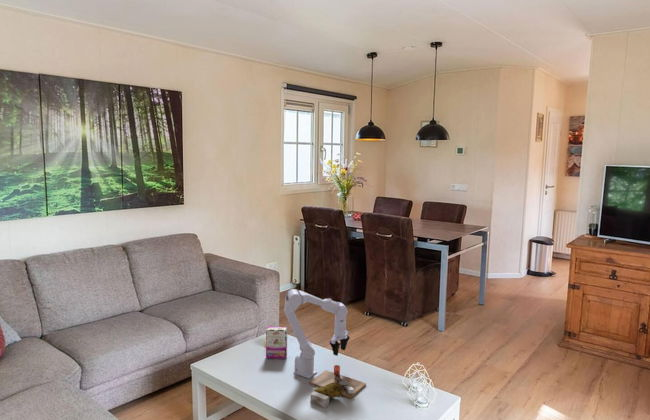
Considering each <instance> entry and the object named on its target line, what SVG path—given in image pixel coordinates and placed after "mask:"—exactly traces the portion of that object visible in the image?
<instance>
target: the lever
mask: <svg viewBox="0 0 650 420" xmlns="http://www.w3.org/2000/svg"><path fill="white" fill-rule="evenodd" d="M333 373H334V375H335V378H336V379H337V381H338V382H339V384H341V385H342V386H343V388H344V389H345V390H346V392H347V394H353V393H354V389H353V388H352V387H350V386H349V381H348V380H346V379H343V378H342V377H341V376H340V375H341V366H340V365H339V364H335V365H333Z"/></svg>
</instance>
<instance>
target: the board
mask: <svg viewBox="0 0 650 420" xmlns="http://www.w3.org/2000/svg"><path fill="white" fill-rule="evenodd" d="M340 376H341V377H342V378H343V379H346V380H348V381H349V386H350V387H352V388H353V389H354V393H353V394H347V392H346V390H345V389H344V388H343V392H342V394H341V396H342V397H345V398H346V399H350V400H351V399H353V397H354V396H356V395H357V394H359V392H361V391H362V390H363V389H364V388H365V387H366V386H367V383H366V382H363V381H361V380H357V379H355V378H351V377H349V376H345V375H342V374H340ZM334 382H337V383H339V382H338V381H337V379H336V378H335V375H334V371H329V370H324V371H323V372H321V373H320V374H318V375H317V376H316V377H314V378H313V379H311V380H310V381H309V383H308V384H309V385H310V386H313V387H315V388H319V387H322V386H326V385H328V384H330V383H334ZM341 396H340V397H341ZM309 399H310V404H314V405H317V406H319V407H322V408H324V409H327V407H329V406H330V398H329V396H326V395H323V394H320V393H318V392H315V390H313V392H311V393H310V398H309Z"/></svg>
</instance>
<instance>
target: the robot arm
mask: <svg viewBox="0 0 650 420" xmlns="http://www.w3.org/2000/svg"><path fill="white" fill-rule="evenodd" d="M284 297H285V298H284V299H285V300H284V301H285V302H284V306H283V312H284V315H285V317H286V319H287V321H288V323H289V325H290V327H291V330H292V331H293V334H294V336H295V338H296V340H297V342H298V345H299V350H300V353H298V354H296V356H295V357H294V368H293V369H294V370H293V374H295V375H298V376H301V377H304V378H306V379H310V378H311V377H312V376H314V375H315V374H317V373H318V371H317V370H316V369H314V368H315V367H314V366H315V355H316V351H315V349H314V348H313V345H312V343H311V341H310V340H309V339H308V338H307V337H306V334H305V332H304V330H303V328H302V325H301V324H300V321H299V319H298V317H297V315H296V313H295V312H296V310H297V309H298V307H299V306H300V305H304V304H306V303H309V304H310V303H311V304H312V305H316V306H320V307H321V309H322V310H323V311H326V312H330V313H332V314H334V332H333V333H334V334H333V336H332V338H331V339H330V341H329V345H330V347H331V348H332V349H331V350H332V354H333V355H334V356H339V349H341V351H345V350H346V348H347V344H348V342H349V340H350V338H351V337H350V336H349V332H350V331H348V330H347V315H348V313H349V311H348V308H347V307H346V305H345V304H344V303H343V302H339V301H335V300H332V298H330V297H329V298H324V299H322V298H320V297H317V296H315V295H313V294H310V293H307V292H306V291H303V290H299V289H296V288H291V289H289V290H288V291H287V293H286V295H285V296H284ZM338 341H340V343H339V342H338Z"/></svg>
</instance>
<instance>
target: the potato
mask: <svg viewBox="0 0 650 420" xmlns="http://www.w3.org/2000/svg"><path fill="white" fill-rule="evenodd" d="M314 391H315V392H318V393H320V394H323V395H326V396H329V399H333V398H340V397H341V394H342V392H343V386H342V385H341V384H339V383H337V382H334V383H330V384H328V385H326V386H322V387H319V388H318V387H315V389H314Z"/></svg>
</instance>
